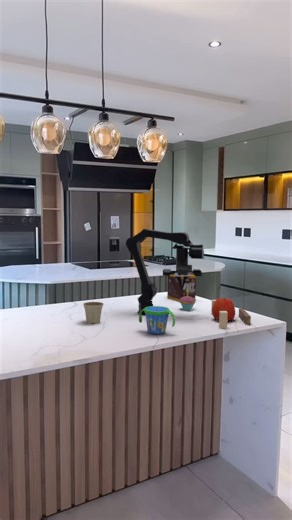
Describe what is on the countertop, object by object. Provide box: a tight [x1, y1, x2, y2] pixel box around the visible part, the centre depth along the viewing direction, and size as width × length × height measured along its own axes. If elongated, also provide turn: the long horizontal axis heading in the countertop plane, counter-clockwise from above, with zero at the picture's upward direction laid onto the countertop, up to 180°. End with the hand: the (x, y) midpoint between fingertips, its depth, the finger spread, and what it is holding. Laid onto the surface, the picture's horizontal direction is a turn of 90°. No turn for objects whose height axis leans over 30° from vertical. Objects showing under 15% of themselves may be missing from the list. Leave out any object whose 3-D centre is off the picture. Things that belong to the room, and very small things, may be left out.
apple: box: [211, 297, 236, 322], centre depth 183 cm, size 11×11×11 cm
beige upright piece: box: [211, 299, 228, 329], centre depth 182 cm, size 3×28×7 cm, turn 178°
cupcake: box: [178, 289, 196, 311], centre depth 205 cm, size 9×8×12 cm
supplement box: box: [166, 274, 197, 303], centre depth 231 cm, size 10×15×16 cm
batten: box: [238, 308, 252, 326], centre depth 182 cm, size 2×16×4 cm, turn 178°
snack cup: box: [138, 305, 176, 335], centre depth 162 cm, size 16×10×10 cm
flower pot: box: [82, 301, 104, 325], centre depth 178 cm, size 9×9×9 cm
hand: (181, 290), depth 189 cm, fingers closed
